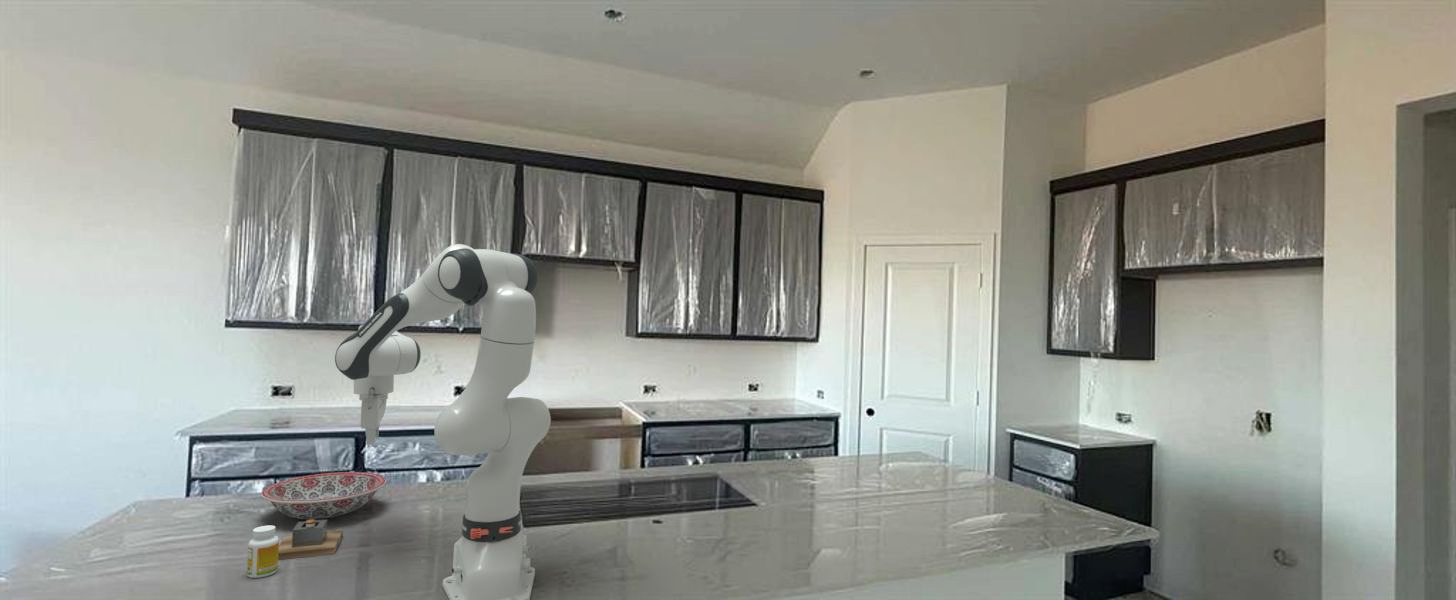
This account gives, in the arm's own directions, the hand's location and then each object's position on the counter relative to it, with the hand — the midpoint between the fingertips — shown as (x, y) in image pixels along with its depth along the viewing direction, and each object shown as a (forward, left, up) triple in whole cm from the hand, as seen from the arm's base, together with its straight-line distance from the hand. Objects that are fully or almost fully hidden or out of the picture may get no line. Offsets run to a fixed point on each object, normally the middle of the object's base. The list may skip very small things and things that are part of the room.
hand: (372, 440), depth 161 cm
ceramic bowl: (+22, +13, -24) cm, 35 cm away
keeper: (-4, +12, -24) cm, 27 cm away
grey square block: (-4, +12, -23) cm, 26 cm away
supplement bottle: (-17, +18, -24) cm, 35 cm away
